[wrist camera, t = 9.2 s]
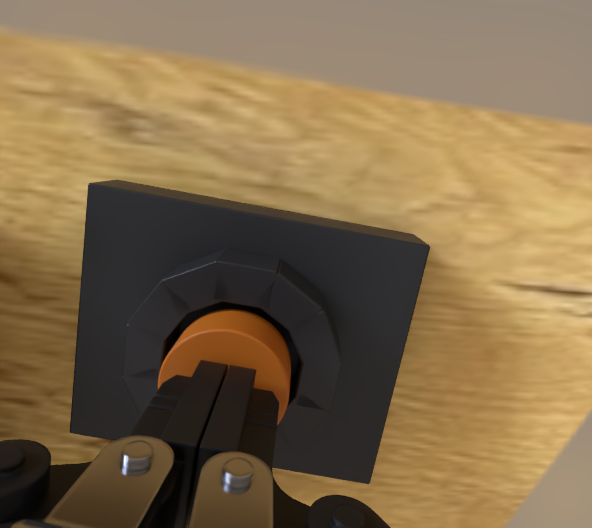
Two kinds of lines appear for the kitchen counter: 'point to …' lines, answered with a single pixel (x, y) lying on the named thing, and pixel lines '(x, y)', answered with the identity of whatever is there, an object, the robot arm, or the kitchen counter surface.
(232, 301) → the control block
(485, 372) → the kitchen counter surface
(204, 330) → the button
